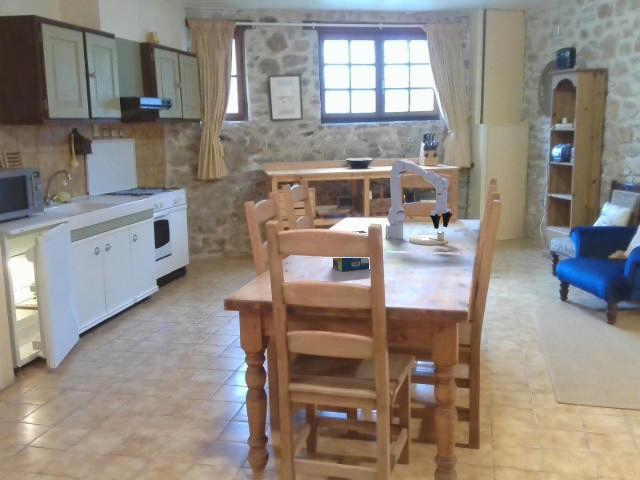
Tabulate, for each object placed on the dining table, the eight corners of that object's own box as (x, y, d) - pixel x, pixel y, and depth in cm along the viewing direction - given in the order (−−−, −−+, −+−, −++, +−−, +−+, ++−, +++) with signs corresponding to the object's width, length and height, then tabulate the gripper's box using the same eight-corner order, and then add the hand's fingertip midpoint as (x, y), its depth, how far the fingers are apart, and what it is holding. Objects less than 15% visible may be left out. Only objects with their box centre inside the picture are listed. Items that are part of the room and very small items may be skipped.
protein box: (332, 266, 273) (332, 233, 270) (363, 263, 278) (363, 230, 275) (341, 272, 263) (341, 236, 260) (373, 268, 268) (373, 234, 266)
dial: (401, 241, 323) (401, 230, 322) (425, 236, 336) (425, 225, 335) (431, 246, 308) (431, 234, 307) (455, 241, 321) (455, 230, 320)
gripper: (439, 203, 304) (438, 230, 307) (456, 201, 314) (455, 226, 316) (427, 202, 309) (427, 228, 312) (445, 199, 319) (444, 225, 322)
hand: (440, 227), depth 315 cm, fingers open, 7 cm apart
